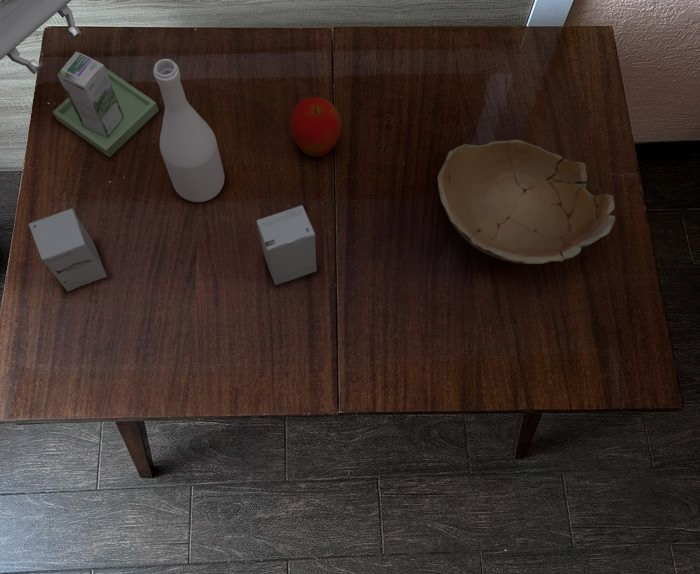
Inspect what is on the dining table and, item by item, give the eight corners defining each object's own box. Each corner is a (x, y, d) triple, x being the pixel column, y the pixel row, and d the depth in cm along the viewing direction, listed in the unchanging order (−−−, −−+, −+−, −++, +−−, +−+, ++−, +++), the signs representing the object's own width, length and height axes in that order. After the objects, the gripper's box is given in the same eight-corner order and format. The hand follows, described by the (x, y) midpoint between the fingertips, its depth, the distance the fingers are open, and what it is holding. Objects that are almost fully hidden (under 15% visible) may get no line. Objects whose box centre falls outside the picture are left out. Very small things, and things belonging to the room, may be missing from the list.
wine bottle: (166, 197, 127) (121, 84, 99) (184, 154, 130) (145, 34, 102) (215, 210, 127) (184, 101, 99) (232, 167, 130) (207, 49, 102)
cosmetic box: (306, 245, 125) (304, 201, 111) (317, 273, 124) (317, 233, 110) (262, 259, 124) (254, 217, 110) (273, 288, 122) (267, 249, 108)
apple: (344, 163, 131) (347, 123, 120) (298, 171, 130) (296, 132, 119) (333, 122, 134) (334, 79, 123) (287, 131, 133) (284, 88, 122)
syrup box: (99, 105, 132) (74, 49, 119) (125, 117, 132) (103, 62, 118) (82, 127, 131) (54, 72, 117) (108, 139, 130) (84, 86, 116)
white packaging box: (67, 293, 120) (39, 260, 109) (55, 257, 123) (26, 222, 111) (108, 278, 122) (85, 244, 110) (95, 243, 124) (71, 206, 112)
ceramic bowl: (562, 134, 133) (593, 93, 118) (601, 268, 129) (638, 244, 115) (411, 164, 131) (424, 127, 116) (447, 302, 127) (464, 282, 112)
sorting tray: (109, 157, 130) (105, 150, 127) (56, 119, 132) (52, 111, 130) (158, 110, 134) (156, 102, 131) (106, 74, 136) (103, 65, 134)
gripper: (-56, 13, 106) (17, 90, 113) (42, -64, 111) (105, 14, 119) (-61, 21, 111) (9, 94, 118) (33, -53, 116) (94, 21, 124)
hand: (58, 53), depth 119 cm, fingers open, 8 cm apart
